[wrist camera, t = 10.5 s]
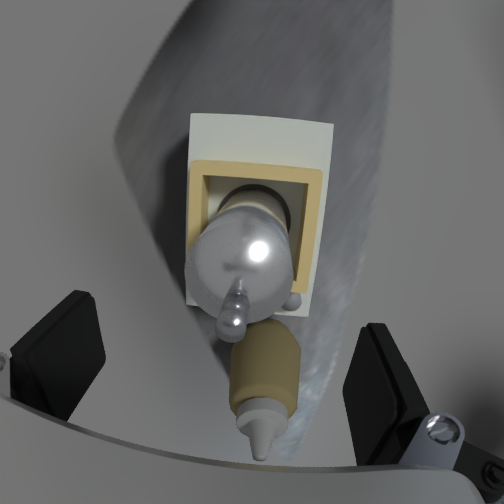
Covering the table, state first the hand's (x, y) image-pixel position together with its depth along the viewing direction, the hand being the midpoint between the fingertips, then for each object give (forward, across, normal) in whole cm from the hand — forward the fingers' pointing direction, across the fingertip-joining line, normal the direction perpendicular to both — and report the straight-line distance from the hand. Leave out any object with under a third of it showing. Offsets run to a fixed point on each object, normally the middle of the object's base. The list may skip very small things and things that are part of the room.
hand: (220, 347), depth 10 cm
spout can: (+18, 0, 0) cm, 18 cm away
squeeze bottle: (+24, -2, +16) cm, 29 cm away
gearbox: (+24, 0, 0) cm, 24 cm away
